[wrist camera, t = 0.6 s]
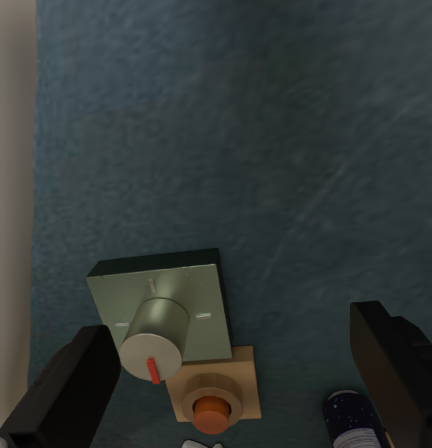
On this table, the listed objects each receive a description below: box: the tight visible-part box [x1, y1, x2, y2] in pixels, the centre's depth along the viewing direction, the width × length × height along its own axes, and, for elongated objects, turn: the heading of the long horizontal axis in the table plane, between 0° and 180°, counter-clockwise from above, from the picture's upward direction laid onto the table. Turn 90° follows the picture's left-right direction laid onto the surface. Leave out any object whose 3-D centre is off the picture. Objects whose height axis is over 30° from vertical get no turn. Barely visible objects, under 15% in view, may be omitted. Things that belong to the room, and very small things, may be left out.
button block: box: [165, 346, 261, 427], centre depth 33 cm, size 9×10×4 cm
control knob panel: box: [86, 248, 233, 366], centre depth 29 cm, size 11×12×3 cm
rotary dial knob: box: [119, 298, 190, 384], centre depth 26 cm, size 5×5×5 cm
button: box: [193, 396, 229, 434], centre depth 31 cm, size 4×4×2 cm
